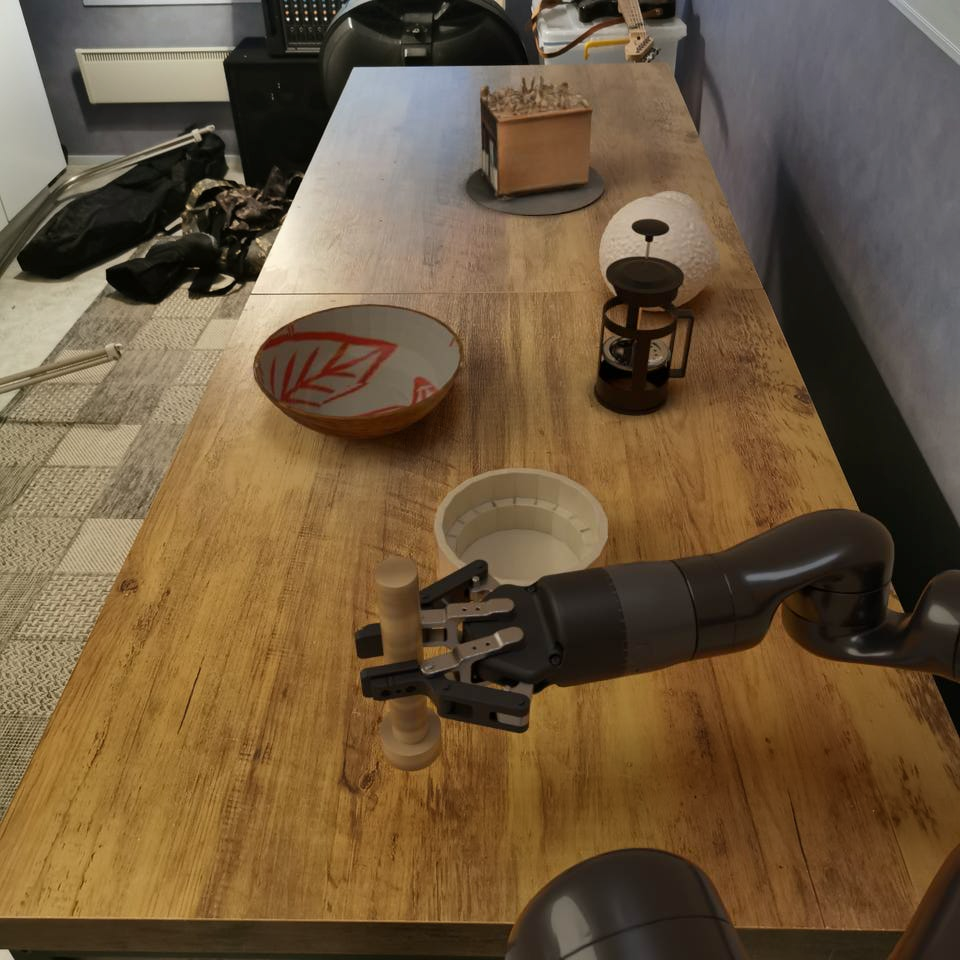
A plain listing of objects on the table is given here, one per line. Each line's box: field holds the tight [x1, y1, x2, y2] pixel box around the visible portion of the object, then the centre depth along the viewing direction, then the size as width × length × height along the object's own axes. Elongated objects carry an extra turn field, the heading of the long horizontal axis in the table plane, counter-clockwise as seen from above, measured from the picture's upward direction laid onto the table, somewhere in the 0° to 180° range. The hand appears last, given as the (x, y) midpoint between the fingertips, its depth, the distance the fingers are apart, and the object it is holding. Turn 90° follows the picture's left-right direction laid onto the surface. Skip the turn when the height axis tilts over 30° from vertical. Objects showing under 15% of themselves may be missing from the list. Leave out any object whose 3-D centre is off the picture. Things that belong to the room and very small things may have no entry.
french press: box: [593, 219, 695, 416], centre depth 110 cm, size 12×9×23 cm
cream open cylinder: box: [433, 467, 609, 603], centre depth 91 cm, size 17×17×8 cm
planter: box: [465, 74, 605, 216], centre depth 162 cm, size 25×25×19 cm
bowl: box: [252, 303, 465, 440], centre depth 113 cm, size 25×25×8 cm
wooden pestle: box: [374, 556, 443, 773], centre depth 61 cm, size 4×4×18 cm
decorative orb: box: [598, 190, 721, 312], centre depth 131 cm, size 20×18×16 cm
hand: (359, 663), depth 60 cm, fingers closed on wooden pestle, 2 cm apart
